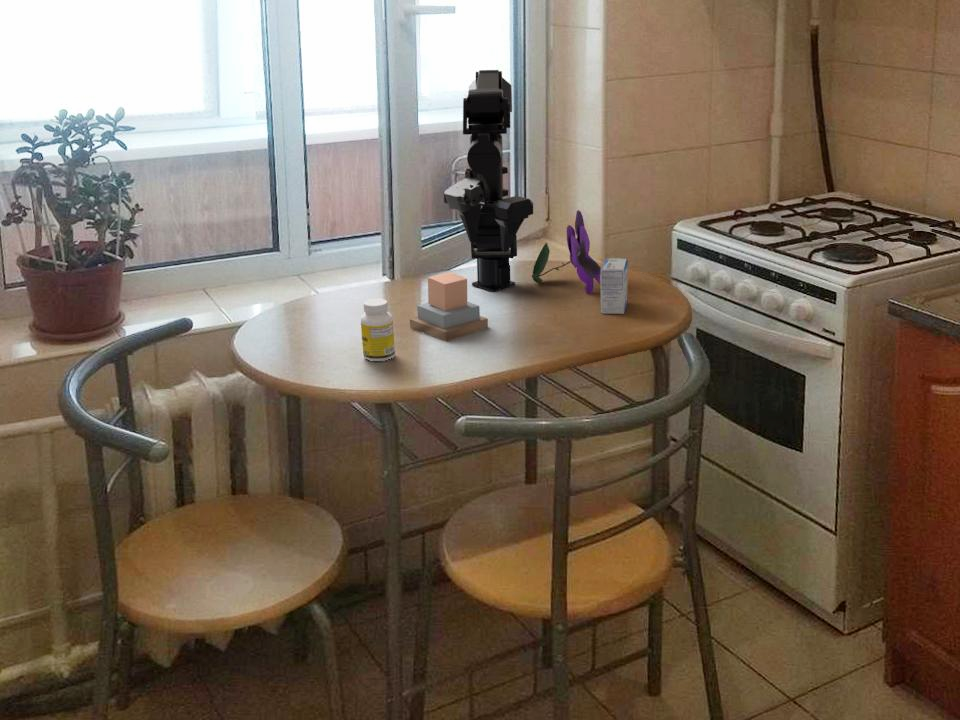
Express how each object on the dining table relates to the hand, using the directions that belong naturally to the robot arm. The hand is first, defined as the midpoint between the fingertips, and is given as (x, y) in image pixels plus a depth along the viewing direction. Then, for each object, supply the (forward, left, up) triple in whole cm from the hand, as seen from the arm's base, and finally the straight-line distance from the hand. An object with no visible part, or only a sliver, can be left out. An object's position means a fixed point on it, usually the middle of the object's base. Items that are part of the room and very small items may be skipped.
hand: (488, 246), depth 205 cm
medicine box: (+15, +18, -13) cm, 27 cm away
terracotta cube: (+1, -11, -8) cm, 14 cm away
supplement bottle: (+4, -29, -13) cm, 32 cm away
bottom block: (+1, -11, -14) cm, 18 cm away
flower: (-2, +22, -13) cm, 26 cm away
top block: (+1, -11, -11) cm, 16 cm away
